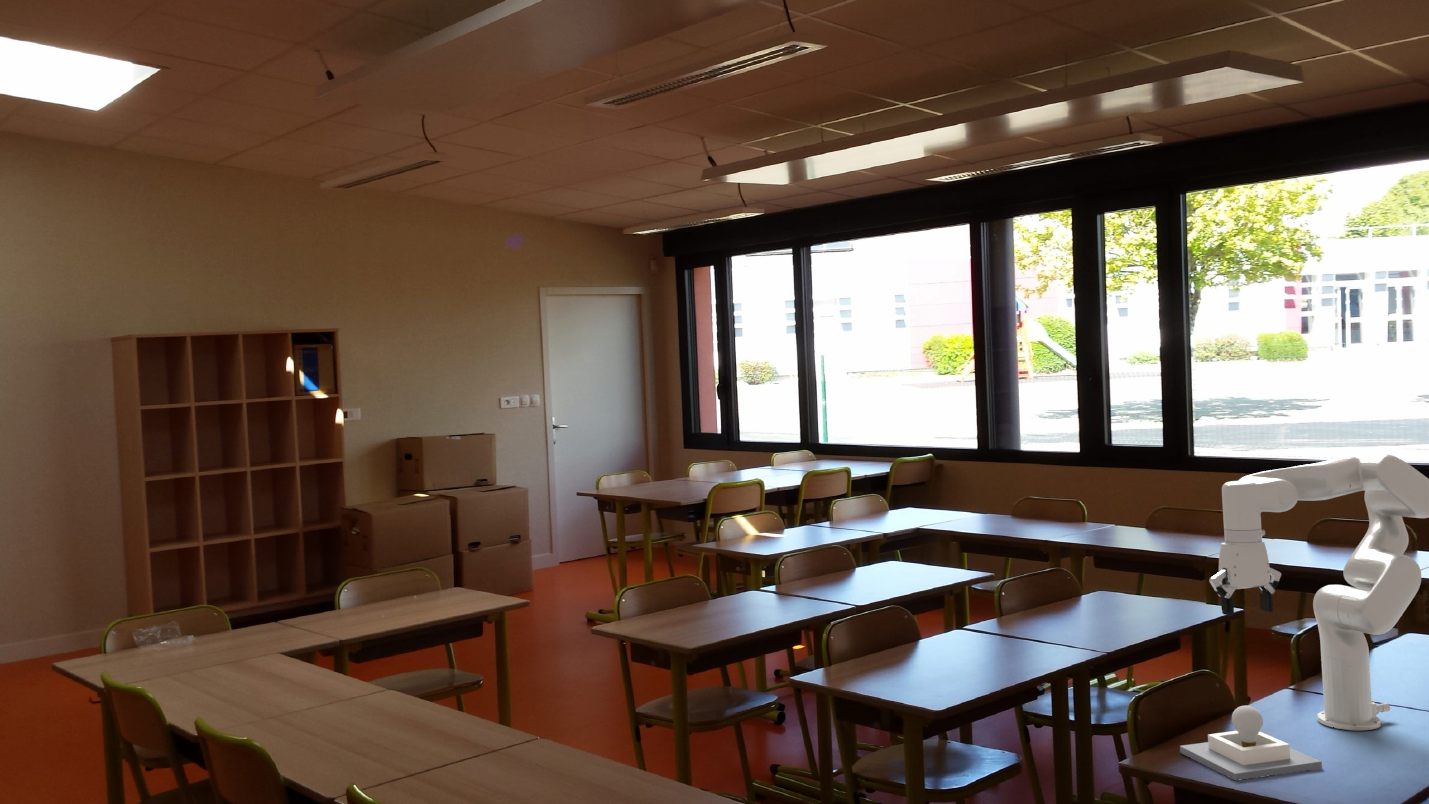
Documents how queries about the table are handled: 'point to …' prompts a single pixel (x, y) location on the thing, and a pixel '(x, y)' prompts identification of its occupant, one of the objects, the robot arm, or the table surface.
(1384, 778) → the table surface
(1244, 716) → the light bulb
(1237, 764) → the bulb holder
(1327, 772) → the table surface
